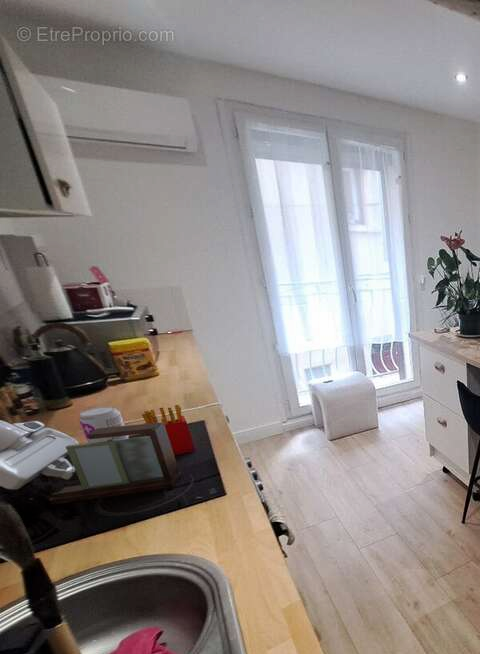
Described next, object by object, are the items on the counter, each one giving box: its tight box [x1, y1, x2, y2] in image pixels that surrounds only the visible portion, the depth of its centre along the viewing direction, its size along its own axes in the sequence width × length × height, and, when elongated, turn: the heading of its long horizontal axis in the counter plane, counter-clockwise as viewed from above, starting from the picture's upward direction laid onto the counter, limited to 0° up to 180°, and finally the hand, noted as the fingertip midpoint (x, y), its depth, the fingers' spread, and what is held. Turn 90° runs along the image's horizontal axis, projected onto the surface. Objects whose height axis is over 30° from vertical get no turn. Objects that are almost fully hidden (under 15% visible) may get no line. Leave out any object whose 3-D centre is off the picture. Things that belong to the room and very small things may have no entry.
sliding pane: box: [66, 440, 131, 489], centre depth 102 cm, size 9×1×12 cm, turn 111°
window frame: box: [49, 422, 182, 506], centre depth 103 cm, size 24×6×17 cm, turn 111°
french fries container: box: [141, 404, 196, 457], centre depth 123 cm, size 7×9×14 cm
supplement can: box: [78, 406, 130, 443], centre depth 119 cm, size 8×8×15 cm
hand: (73, 474), depth 100 cm, fingers closed, pressing on sliding pane
